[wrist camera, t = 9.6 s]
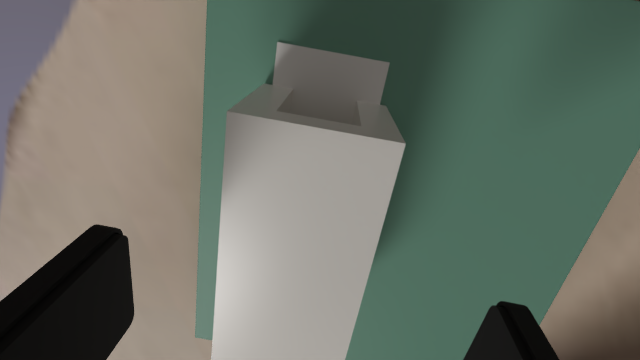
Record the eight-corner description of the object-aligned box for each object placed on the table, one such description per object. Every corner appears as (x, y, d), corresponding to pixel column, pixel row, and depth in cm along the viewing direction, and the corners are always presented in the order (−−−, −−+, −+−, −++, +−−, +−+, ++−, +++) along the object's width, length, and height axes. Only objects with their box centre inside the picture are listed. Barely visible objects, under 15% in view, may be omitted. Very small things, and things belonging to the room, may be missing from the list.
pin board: (223, -70, 14) (163, -117, 9) (677, 16, 14) (841, 12, 9) (204, 317, 22) (167, 395, 17) (492, 367, 22) (531, 457, 17)
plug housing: (263, 83, 14) (226, 111, 10) (386, 105, 14) (405, 143, 10) (237, 341, 20) (206, 434, 16) (324, 356, 20) (318, 453, 16)
